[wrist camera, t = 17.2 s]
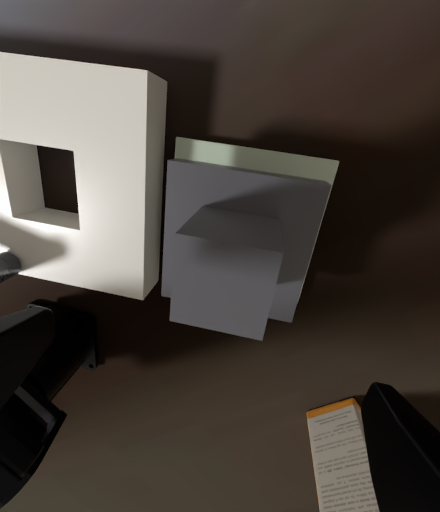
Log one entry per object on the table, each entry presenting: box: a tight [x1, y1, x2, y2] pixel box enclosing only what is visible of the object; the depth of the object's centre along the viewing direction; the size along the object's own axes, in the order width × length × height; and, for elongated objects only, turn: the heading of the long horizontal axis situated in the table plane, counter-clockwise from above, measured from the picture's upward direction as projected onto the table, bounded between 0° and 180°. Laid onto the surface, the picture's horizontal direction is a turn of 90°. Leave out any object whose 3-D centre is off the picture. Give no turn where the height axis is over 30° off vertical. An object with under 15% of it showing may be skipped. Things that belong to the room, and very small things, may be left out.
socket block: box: [0, 52, 167, 300], centre depth 19 cm, size 14×14×3 cm
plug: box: [161, 158, 332, 341], centre depth 15 cm, size 8×8×9 cm
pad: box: [175, 137, 340, 303], centre depth 19 cm, size 10×10×1 cm
